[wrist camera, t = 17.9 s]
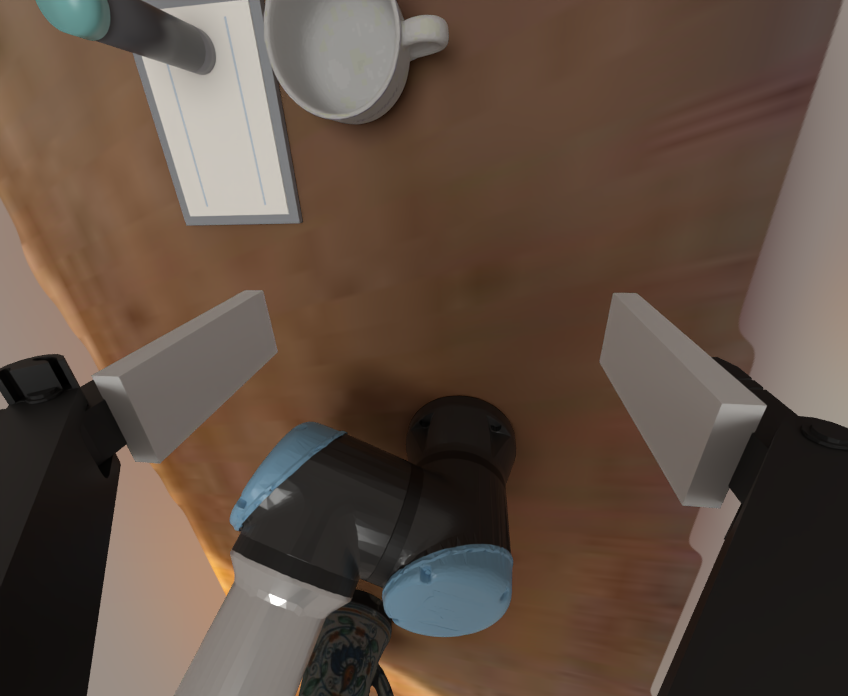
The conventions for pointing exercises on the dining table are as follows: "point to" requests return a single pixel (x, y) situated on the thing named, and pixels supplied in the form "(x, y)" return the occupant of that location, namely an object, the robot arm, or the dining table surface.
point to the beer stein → (350, 651)
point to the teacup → (346, 53)
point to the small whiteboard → (224, 120)
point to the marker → (134, 30)
